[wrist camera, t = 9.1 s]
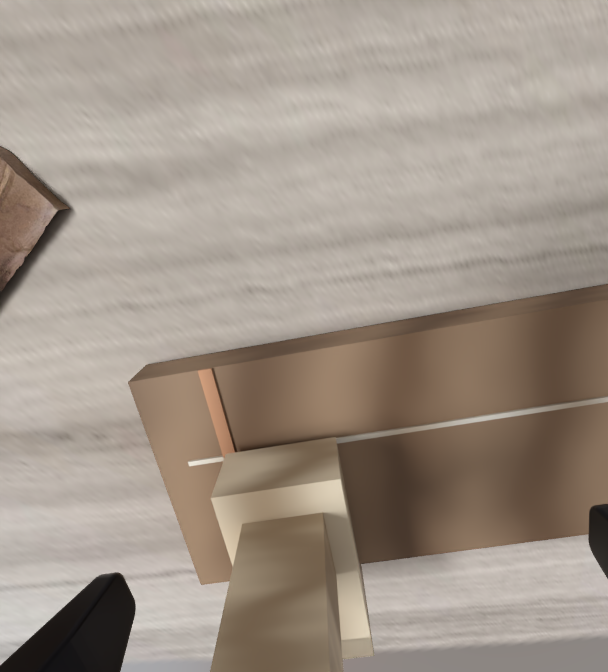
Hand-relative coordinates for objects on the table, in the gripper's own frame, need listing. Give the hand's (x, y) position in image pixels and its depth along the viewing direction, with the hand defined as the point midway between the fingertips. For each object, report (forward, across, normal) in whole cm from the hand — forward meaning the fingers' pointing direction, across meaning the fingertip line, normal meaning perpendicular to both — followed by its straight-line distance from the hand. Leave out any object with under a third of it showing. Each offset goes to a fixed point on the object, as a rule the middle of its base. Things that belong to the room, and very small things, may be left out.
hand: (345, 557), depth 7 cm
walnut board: (+12, -3, +5) cm, 13 cm away
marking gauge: (+11, +3, +8) cm, 14 cm away
